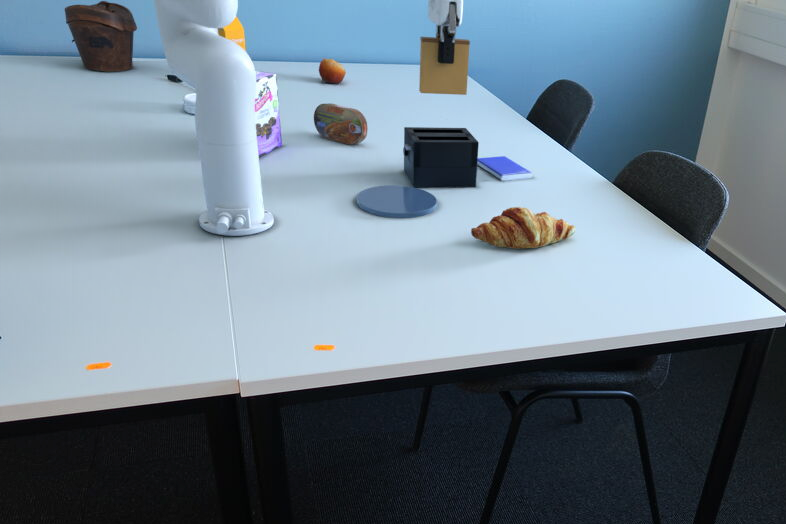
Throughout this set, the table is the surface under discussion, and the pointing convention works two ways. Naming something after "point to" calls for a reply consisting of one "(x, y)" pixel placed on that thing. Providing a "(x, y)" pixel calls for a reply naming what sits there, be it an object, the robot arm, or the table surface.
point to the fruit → (331, 71)
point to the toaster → (440, 157)
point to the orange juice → (234, 33)
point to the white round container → (190, 103)
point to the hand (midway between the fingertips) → (444, 61)
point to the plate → (396, 201)
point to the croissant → (522, 229)
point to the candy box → (267, 113)
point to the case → (102, 35)
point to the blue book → (504, 168)
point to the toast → (443, 68)
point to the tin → (340, 123)
